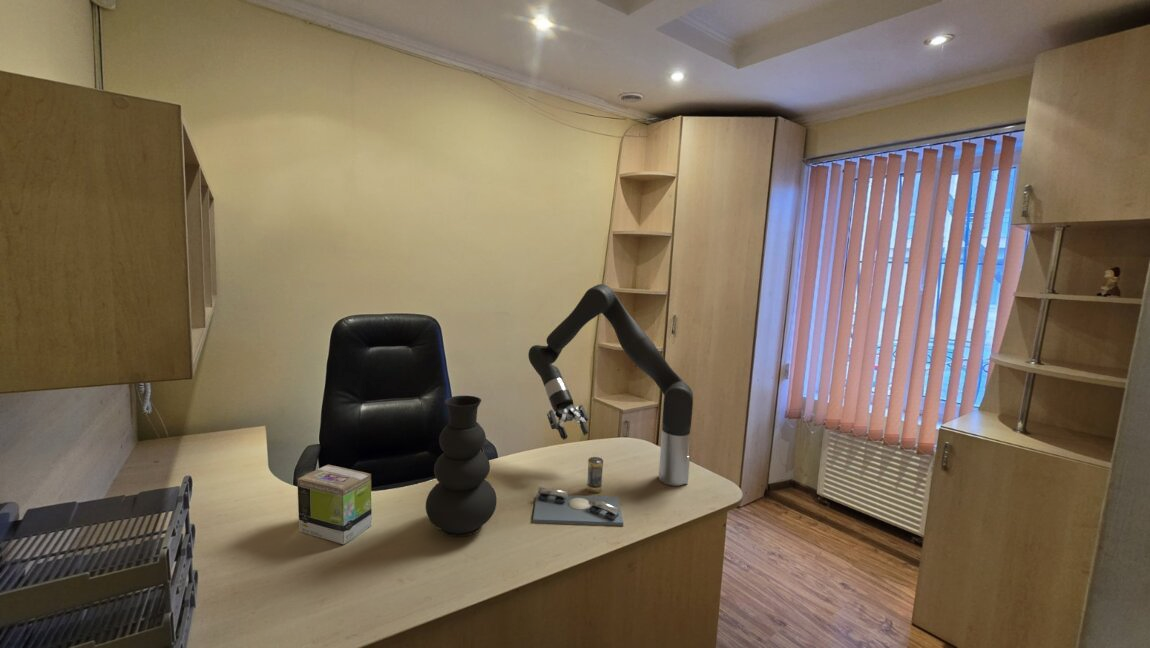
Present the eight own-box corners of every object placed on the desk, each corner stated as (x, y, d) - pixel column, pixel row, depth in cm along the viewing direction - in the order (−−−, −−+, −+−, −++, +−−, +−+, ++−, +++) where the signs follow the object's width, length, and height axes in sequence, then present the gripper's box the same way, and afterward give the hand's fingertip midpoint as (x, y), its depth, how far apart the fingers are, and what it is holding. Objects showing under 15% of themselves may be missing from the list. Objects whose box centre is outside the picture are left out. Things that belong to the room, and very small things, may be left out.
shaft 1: (568, 502, 141) (569, 489, 140) (565, 508, 137) (566, 494, 137) (540, 497, 143) (540, 484, 142) (536, 503, 140) (537, 489, 139)
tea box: (373, 525, 125) (372, 472, 123) (343, 546, 115) (342, 490, 113) (329, 513, 129) (328, 462, 127) (297, 532, 120) (295, 478, 118)
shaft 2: (586, 514, 135) (587, 500, 134) (593, 508, 138) (593, 495, 137) (613, 525, 130) (614, 510, 129) (619, 519, 133) (620, 505, 132)
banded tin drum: (601, 486, 152) (602, 457, 150) (602, 493, 147) (603, 463, 146) (586, 485, 152) (587, 456, 150) (586, 493, 147) (588, 463, 146)
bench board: (618, 500, 143) (618, 496, 143) (623, 525, 130) (623, 521, 129) (536, 497, 143) (536, 493, 143) (533, 522, 129) (533, 518, 129)
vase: (423, 514, 131) (423, 392, 126) (489, 504, 138) (491, 389, 133) (428, 553, 114) (428, 414, 109) (502, 540, 121) (506, 409, 116)
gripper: (545, 391, 157) (563, 435, 149) (579, 386, 165) (598, 427, 158) (536, 402, 162) (553, 445, 154) (570, 396, 170) (588, 437, 163)
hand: (576, 436), depth 156 cm, fingers open, 8 cm apart
